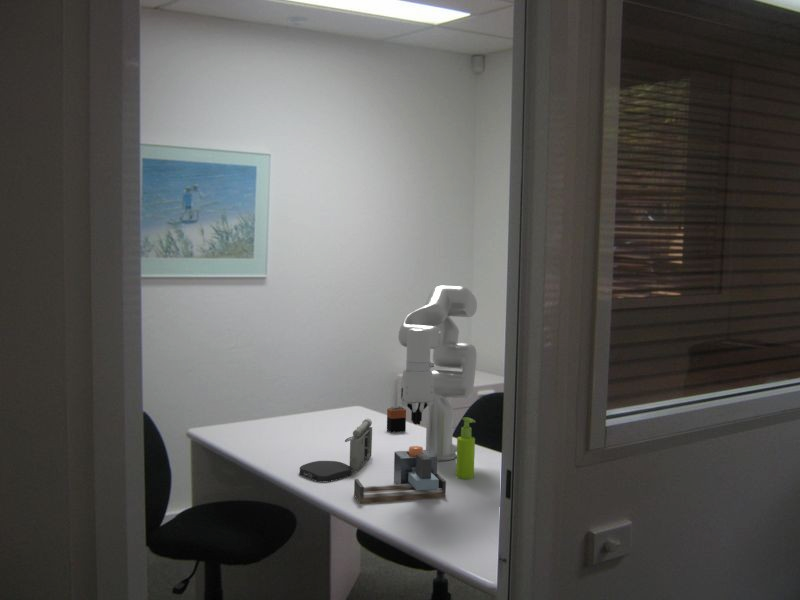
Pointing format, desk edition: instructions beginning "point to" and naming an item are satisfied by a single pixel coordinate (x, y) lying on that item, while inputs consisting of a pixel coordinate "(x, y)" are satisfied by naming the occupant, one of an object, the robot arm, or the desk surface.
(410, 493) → the rail
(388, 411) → the battery
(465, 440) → the soap dispenser
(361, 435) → the geiger counter
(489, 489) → the desk surface
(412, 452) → the button
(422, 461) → the carriage
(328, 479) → the media streaming box
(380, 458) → the desk surface
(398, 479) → the cabinet
